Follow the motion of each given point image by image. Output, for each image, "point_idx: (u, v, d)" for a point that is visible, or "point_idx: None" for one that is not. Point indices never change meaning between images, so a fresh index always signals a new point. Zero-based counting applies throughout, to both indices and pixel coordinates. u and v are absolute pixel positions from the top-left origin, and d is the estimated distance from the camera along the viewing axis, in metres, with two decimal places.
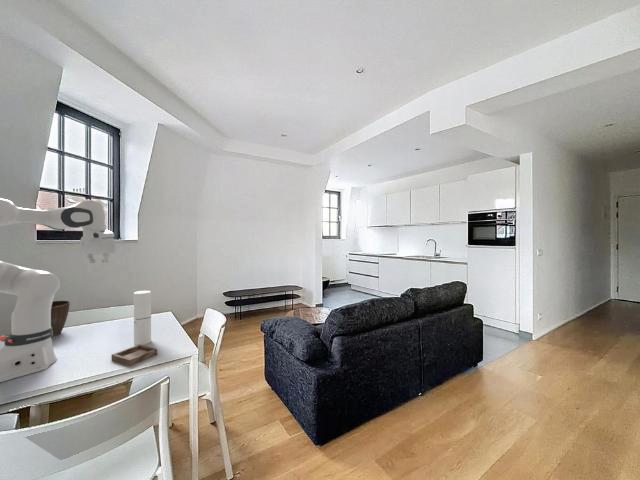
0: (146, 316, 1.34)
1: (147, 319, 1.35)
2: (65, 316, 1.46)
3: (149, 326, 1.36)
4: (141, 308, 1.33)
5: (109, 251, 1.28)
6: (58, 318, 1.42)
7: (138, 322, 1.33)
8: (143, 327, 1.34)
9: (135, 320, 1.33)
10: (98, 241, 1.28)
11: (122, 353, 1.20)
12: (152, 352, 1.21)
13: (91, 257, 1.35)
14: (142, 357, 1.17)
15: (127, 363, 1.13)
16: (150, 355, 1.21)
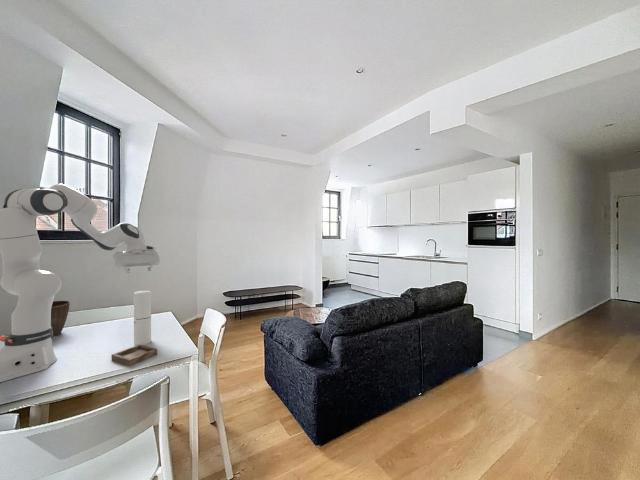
0: (146, 316, 1.34)
1: (147, 319, 1.35)
2: (65, 316, 1.46)
3: (149, 326, 1.36)
4: (141, 308, 1.33)
5: (159, 260, 1.54)
6: (58, 318, 1.42)
7: (138, 322, 1.33)
8: (143, 327, 1.34)
9: (135, 320, 1.33)
10: (148, 253, 1.53)
11: (122, 353, 1.20)
12: (152, 352, 1.21)
13: None
14: (142, 357, 1.17)
15: (127, 363, 1.13)
16: (150, 355, 1.21)
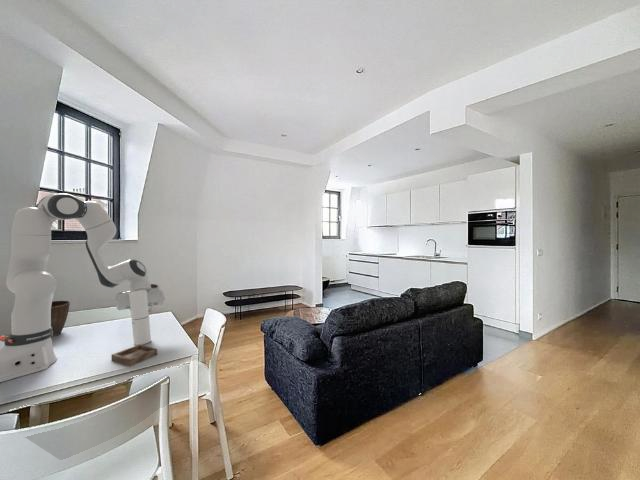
0: (144, 316, 1.34)
1: (145, 319, 1.34)
2: (65, 316, 1.46)
3: (148, 325, 1.36)
4: (137, 308, 1.32)
5: (164, 299, 1.45)
6: (58, 318, 1.42)
7: (136, 322, 1.32)
8: (141, 327, 1.33)
9: (133, 320, 1.33)
10: (152, 292, 1.43)
11: (122, 353, 1.20)
12: (152, 352, 1.21)
13: None
14: (142, 357, 1.17)
15: (127, 363, 1.13)
16: (150, 355, 1.21)
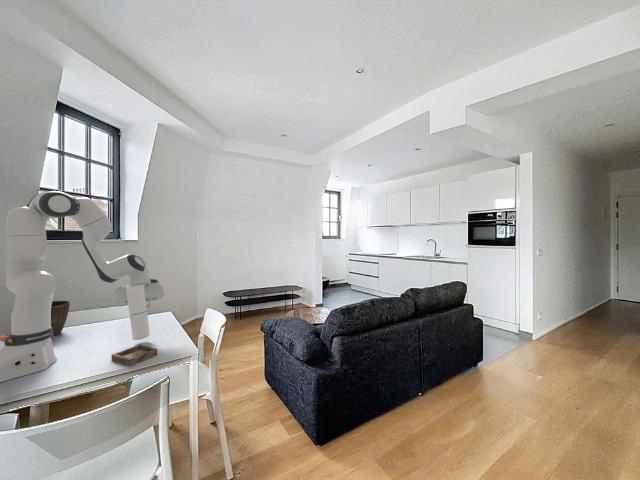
0: (142, 311, 1.33)
1: (143, 313, 1.34)
2: (65, 316, 1.46)
3: (146, 320, 1.35)
4: (135, 303, 1.31)
5: (163, 295, 1.44)
6: (58, 318, 1.42)
7: (134, 317, 1.32)
8: (140, 322, 1.32)
9: (131, 315, 1.32)
10: (152, 287, 1.43)
11: (122, 353, 1.20)
12: (152, 352, 1.21)
13: None
14: (142, 357, 1.17)
15: (127, 363, 1.13)
16: (150, 355, 1.21)
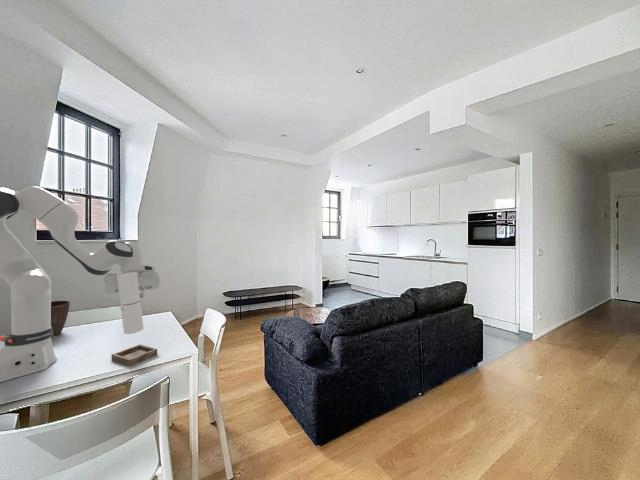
0: (134, 301, 1.17)
1: (136, 304, 1.18)
2: (65, 316, 1.46)
3: (139, 312, 1.19)
4: (127, 292, 1.15)
5: (159, 283, 1.28)
6: (58, 318, 1.42)
7: (126, 308, 1.16)
8: (132, 313, 1.17)
9: (122, 306, 1.16)
10: (146, 274, 1.27)
11: (122, 353, 1.20)
12: (152, 352, 1.21)
13: None
14: (142, 357, 1.17)
15: (127, 363, 1.13)
16: (150, 355, 1.21)
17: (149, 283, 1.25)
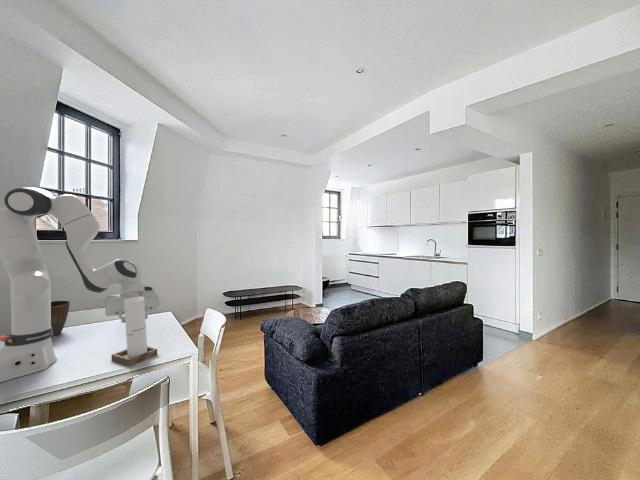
0: (143, 325, 1.18)
1: (144, 328, 1.19)
2: (65, 316, 1.46)
3: None
4: (137, 318, 1.15)
5: (159, 304, 1.28)
6: (58, 318, 1.42)
7: (135, 334, 1.16)
8: (141, 338, 1.17)
9: (130, 332, 1.15)
10: (146, 295, 1.27)
11: (122, 353, 1.20)
12: (152, 352, 1.21)
13: None
14: (142, 357, 1.17)
15: (127, 363, 1.13)
16: (150, 355, 1.21)
17: (149, 304, 1.25)
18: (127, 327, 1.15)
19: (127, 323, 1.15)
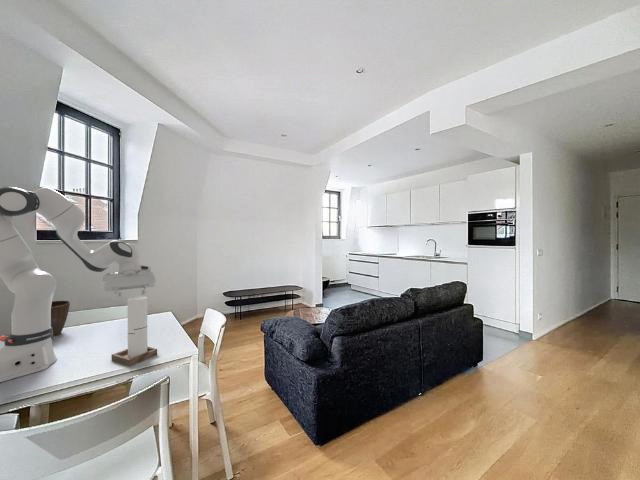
0: (145, 325, 1.20)
1: (146, 328, 1.20)
2: (65, 316, 1.46)
3: None
4: (140, 316, 1.17)
5: None
6: (58, 318, 1.42)
7: (137, 332, 1.17)
8: (142, 337, 1.18)
9: (132, 331, 1.16)
10: (142, 273, 1.36)
11: (122, 353, 1.20)
12: (152, 352, 1.21)
13: None
14: (142, 357, 1.17)
15: (127, 363, 1.13)
16: (150, 355, 1.21)
17: (145, 282, 1.34)
18: (129, 326, 1.17)
19: (129, 321, 1.16)
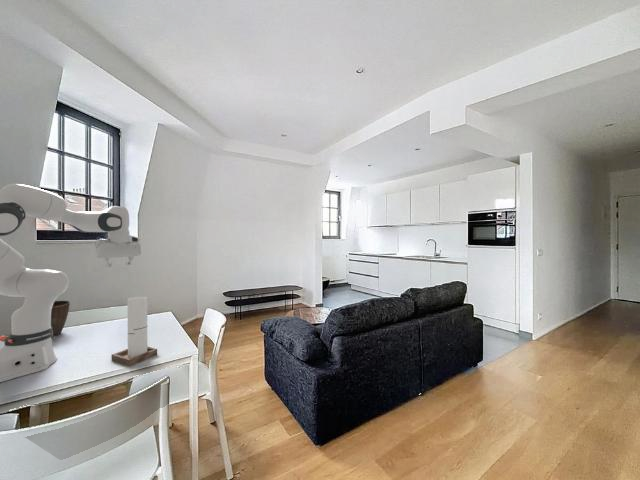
0: (145, 325, 1.20)
1: (146, 328, 1.20)
2: (65, 316, 1.46)
3: None
4: (140, 316, 1.17)
5: None
6: (58, 318, 1.42)
7: (137, 332, 1.17)
8: (142, 337, 1.18)
9: (132, 331, 1.16)
10: (131, 245, 1.43)
11: (122, 353, 1.20)
12: (152, 352, 1.21)
13: None
14: (142, 357, 1.17)
15: (127, 363, 1.13)
16: (150, 355, 1.21)
17: (132, 254, 1.44)
18: (129, 326, 1.17)
19: (129, 321, 1.16)
